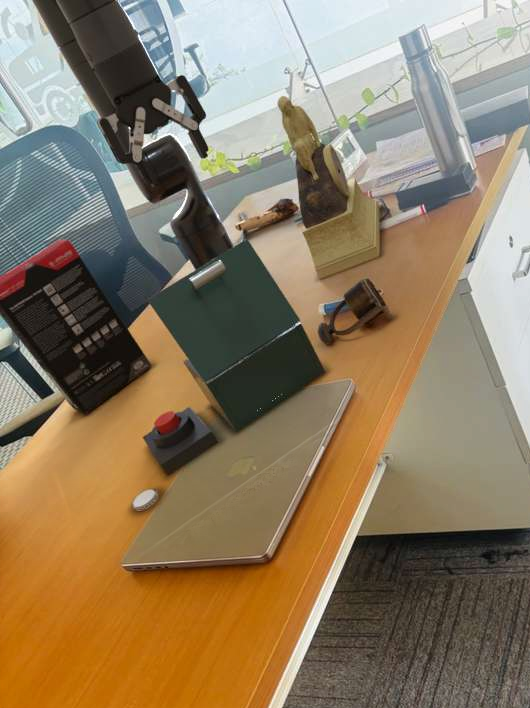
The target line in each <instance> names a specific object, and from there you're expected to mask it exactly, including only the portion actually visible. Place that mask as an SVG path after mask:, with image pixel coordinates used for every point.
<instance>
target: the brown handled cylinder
mask: <svg viewBox="0 0 530 708" xmlns="http://www.w3.org/2000/svg"><path fill="white" fill-rule="evenodd" d="M375 286H376V285H375V284H374V283H373V282H372V281H371V280H370V278H366V277H363V278H361V279H360V280H359V281H358V282H356V283H355V284H354V285H353V286H351V287H350V288H349V289H348V290H347V291H346V292H344V293H343V299H342V300H341V301H340V302H339V303H338V304H337V305H336V307H335V308H334V310H333V311H332V313H331V314H330V316H329V317H330V318H329V324H327V323H326V322H324V321H322V322H320V323H319V325H318V328H317V334H318V338H319V339H320V340H321V342H323V343H324V344H327V345H330V344H332V343H333V342H334V337H333V334H335V335H336V336H341V337H342V336H343V337H344V336H347V335H351V334H353V333H354V332H355V331H357V330H359V329H360V328H361V327H362V326H366V327H368V326H369V325H370V324H372V323H373V322H374V321H376V319H379V317H381V316H382V315H383V314H384V315H385V316H386V318H388V319H392V314H391V312H390V310H389V307H388V305H387V303H386V302H385V299H384V298H383V296H382V295H381V294H380V292H379V291H378V289H377V288H376V287H375ZM346 305H347V307H348V308H349V310H350V311H351V313H352V314H353V315H354V316H355V317H356V319H357V320H358V321H356V322H355V323H354V324H353V325H351V326H350V327H348V328H346V329H344V330H337V329H336V326H335V322H336V318H337V316H338V315H339V313H340V312H341V310H342V309H343V308H344V307H345V306H346Z"/></svg>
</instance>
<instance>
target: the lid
mask: <svg viewBox="0 0 530 708" xmlns="http://www.w3.org/2000/svg"><path fill="white" fill-rule="evenodd" d="M147 302H148V303H149V305H150V306H151V308H152V309H153V311H154V312H155V313H156V315H157V316H158V318H159V320H160V321H161V322H162V324H163V325H164V326H165V328H166V329H167V331H168V332H169V334H170V335H171V336H172V338H173V340H174V341H175V342H176V344H177V345H178V347H179V348H180V349H181V351H182V352H183V354H184V355H185V357H186V359H189V361H190V362H191V364H192V365H193V366H194V368H195V369H196V371H197V372H198V374H199V375H200V376H201V378H202V379H203V381H204V382H206V381H208V380H210V379H211V378H213V377H214V376H216V375H217V374H219V373H220V372H222V371H224V370H225V369H227V368H228V367H230V366H231V365H233V364H234V363H236V362H237V361H239V360H241V359H242V358H244V357H245V356H247V355H248V354H250V353H251V352H253V351H254V350H256V349H258V348H259V347H261V346H262V345H264V344H265V343H267V342H268V341H270V340H271V339H273V338H275V337H276V336H278V335H279V334H281V333H282V332H284V331H285V330H287V329H289V328H290V327H292V326H293V325H295V324H296V323H298V322H299V323H300V322H301V319H300V317H299V316H298V315H297V313H296V311H295V310H294V308H293V306H292V305H291V303H290V302H289V301H288V299H287V298H286V296H285V294H284V293H283V292H282V290H281V288H280V287H279V285H278V283H277V282H276V281H275V279H274V277H273V276H272V274H271V273H270V271H269V270H268V269H267V266H266V265H265V263H264V262H263V261H262V259H261V257H260V256H259V255H258V253H257V251H256V250H255V248H254V247H253V245H252V243H251V242H250V240H248V238H245V240H244V241H242V242H241V241H240V242H239V243H237V244H236V245H234V247H232V248H231V249H229V250H228V251H226V252H224V253H223V254H221V255H219V256H218V257H216V258H214V259H213V260H211V261H209V262H208V263H206V264H205V265H203V266H201V267H200V268H198V269H196V270H195V269H194V270H192V271H191V272H190V273H188V274H187V275H185V276H183V277H181V278H180V279H178V280H176V281H175V282H173V283H172V284H170V285H168V286H167V287H165V288H163V289H162V290H160V291H158V292H157V293H155V294H153V295H152V296H150V297H148V298H147Z"/></svg>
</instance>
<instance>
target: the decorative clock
mask: <svg viewBox="0 0 530 708" xmlns="http://www.w3.org/2000/svg"><path fill="white" fill-rule="evenodd" d="M277 107H278V109H279V111H280V112H281V123H282V127H283V129H284V131H285V133H286V135H287V138H288V140H289V143H290V145H291V149H292V151H293V152H294V154H295V161H294V165H295V174H296V180H297V190H298V204H299V205H298V206H299V211H300V217H301V222H302V225H303V227H302V232H301V233H302V235H303V237H304V239H305V241H306V244H307V247H308V249H309V252H310V255H311V258H312V261H313V265H314V269H315V272H316V274H317V276H318V278H319V280H322V279H324V278H327V277H330V276H332V275H335V274H338V273H340V272H342V271H345V270H348V269H350V268H352V267H355V266H358V265H361V264H363V263H366V262H368V261H371V260H373V259H376V258H379V257H380V256H381V255H380V253H381V251H380V249H381V247H380V246H381V245H380V243H381V239H380V238H381V237H380V235H381V228H380V227H381V223H380V222H381V220H380V219H381V217H380V216H381V211H380V210H381V207H380V204H379V202H378V200H377V198H373V197H371V196H369V195H367V194H366V193H365V192H364V191H363V190H362V189H361V187H360V186H359V184H358V182H357V179H356V177H352V178H350V179H348V180H347V176H346V173H345V171H344V168H343V165H342V162H341V160H340V158H339V156H338V153H337V151H336V150H335V147H334V146H333V145H332V144H328V145H326V144H324V143H323V142H321V140H320V139H319V135H318V132H317V128H316V126H315V124H314V123H313V120H312V119H311V118H310V116H309V115H308V114H307V112H306V111H305V109H304V108H303V107H302V106H300V105H293V103H292V100H291V99H289V97H287V96H285V95H282V96H280V97H279V98H278V100H277Z"/></svg>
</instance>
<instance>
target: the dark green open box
mask: <svg viewBox="0 0 530 708" xmlns="http://www.w3.org/2000/svg"><path fill="white" fill-rule="evenodd" d="M182 362H183V364H184V365H185V367H186V369H187V370H188V372H189V373H190V374H191V377H192V378H193V380H194V381H195V382H196V384H197V385H198V388H199V389H200V390H201V392H202V393H203V395H204V396H205V398H206V399H207V401H208V402H209V404H210V405H211V406H212V408H213V409H214V410H215V411H216V412H217V413H218V414H219V415H220V416H221V417H222V418H223V419H224V420H225V421H226V422H227V424H229V425H230V427H231V428H232V429H233V430H234V431H235V432H238V431H240V430H241V429H243V428H244V427H246V426H247V425H249V424H250V423H252V422H253V421H254V420H256V419H258V418H259V417H260V416H263V415H264V414H265V413H266V412H268V411H270V410H272V409H273V408H275V406H277V405H279V404H280V403H282V402H283V401H284V400H286V399H287V398H289V397H291V396H293V395H294V394H295V393H296V392H298V391H300V390H301V389H302V388H304V387H306V386H307V385H309V384H311V383H312V382H313V381H315V380H316V379H318V378H319V377H321V376H322V375H324V374H325V373H326V369H325V368H324V366H323V364H322V362H321V360H320V358H319V356H318V354H317V352H316V350H315V348H314V346H313V344H312V342H311V340H310V337H309V336H308V334H307V332H306V331H305V328H304V326H303V324H302V322H300V321H299V322H298V323H296V324H295V325H293V326H292V327H290V328H289V329H287V330H285V331H284V332H282V333H281V334H279V335H278V336H276V337H275V338H273V339H271V340H270V341H268V342H267V343H265V344H264V345H262V346H261V347H259V348H258V349H256V350H254V351H253V352H251V353H250V354H248V355H247V356H245V357H244V358H242V359H241V360H239V361H237V362H236V363H234V364H233V365H231V366H230V367H228V368H227V369H225V370H224V371H222V372H220V373H219V374H217V375H216V376H214V377H213V378H211V379H210V380H208V381H206V382H204V381H203V379H202V378H201V376H200V375H199V374H198V372H197V371H196V369H195V368H194V366H193V365H192V364H191V362H190V361H189V359H188V358H186V359H185V360H183V361H182ZM281 394H282V395H281ZM278 396H279V397H278ZM275 398H276V399H275ZM272 400H273V401H272ZM260 408H261V409H260ZM257 410H258V411H257Z"/></svg>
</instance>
